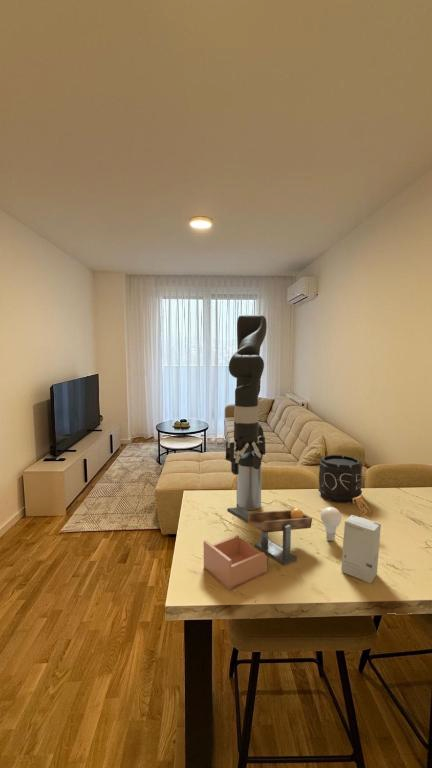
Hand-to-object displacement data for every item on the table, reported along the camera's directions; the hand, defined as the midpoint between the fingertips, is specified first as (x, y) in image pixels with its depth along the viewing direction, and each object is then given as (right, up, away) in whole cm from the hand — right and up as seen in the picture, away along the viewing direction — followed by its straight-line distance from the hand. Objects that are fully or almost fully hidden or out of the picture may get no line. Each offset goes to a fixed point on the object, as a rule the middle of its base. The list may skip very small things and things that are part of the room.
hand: (246, 471), depth 112 cm
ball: (+16, -14, +2) cm, 22 cm away
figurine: (+42, -23, +13) cm, 49 cm away
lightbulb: (+28, -24, +5) cm, 37 cm away
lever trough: (+7, -16, +2) cm, 17 cm away
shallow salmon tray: (-4, -25, -11) cm, 28 cm away
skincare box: (+30, -25, -13) cm, 42 cm away
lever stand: (+9, -24, -2) cm, 26 cm away
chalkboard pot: (+44, -21, +41) cm, 64 cm away
